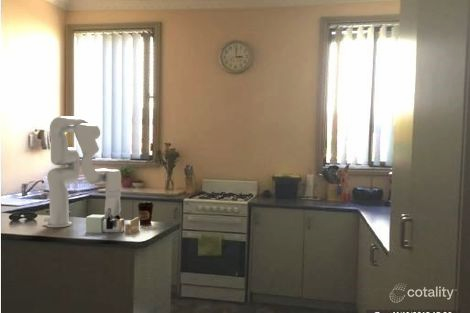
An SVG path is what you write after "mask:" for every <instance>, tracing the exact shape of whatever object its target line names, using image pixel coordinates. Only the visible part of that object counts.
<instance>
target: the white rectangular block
mask: <svg viewBox="0 0 470 313" xmlns="http://www.w3.org/2000/svg"><path fill="white" fill-rule="evenodd" d="M112 221H113V229H106V219H105V218H103V219H102V233H122V232H125V218H120V219H114V218H113V219H112Z"/></svg>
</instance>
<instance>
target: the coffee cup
mask: <svg viewBox="0 0 470 313" xmlns="http://www.w3.org/2000/svg"><path fill="white" fill-rule="evenodd" d="M137 208H138V217H139V226H142V227H146V226H152V218H153V214H154V213H153V212H154V211H153V209H154V203H153V201H151V200H148V201H147V200H144V201H139V202H138V204H137Z"/></svg>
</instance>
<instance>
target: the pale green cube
mask: <svg viewBox="0 0 470 313" xmlns="http://www.w3.org/2000/svg"><path fill="white" fill-rule="evenodd" d="M103 218H105V219H106V216H105V214H90V215H88V216H86V217H85V232H86V233H93V234H95V233H97V234H99V233H101V234H102V233H103V232H102V219H103Z"/></svg>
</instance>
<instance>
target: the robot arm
mask: <svg viewBox="0 0 470 313" xmlns="http://www.w3.org/2000/svg"><path fill="white" fill-rule="evenodd" d="M66 133H74V136H75V138H76V140H77V142H78V145H79V148H80V150H81V153H82V158H81V162H80V154H79V152H78V150H77V149H76V148H74V147H68V146H69V145H68V143H69V140H68V137H67V135H66ZM49 134H50V161H51V163H52V164H53V165H54V166H61V167H55V168H52V169H50V170H49V171H48V172H47V176H46V177H47V178H46V180H47V183H48V190H49V216H48V217H44V218H43V222H45V223H46V222H47V223H46V226H47V227H48V228H65V227H70V226H72V224H73V223H72V221H70V219H69V218H70V216H69V213H70V212H69V211H70V210H69V209H70V207H69V205H70V204H69V203H70V202H69V190H68V188H67V186H66V185H70V184H71V185H72V184H75V183H76V182H78V180H79V177H80V167H81V171H82V175H83V176H84V178H85V180H86V181H87V183H89V184H90V185H99V184H105V201H104V215H105V216H106V229H113V221H112V219H121V216H122V215H121V213H122V212H121V211H122V207H121V205H122V204H121V196H122V193H121V192H122V191H121V190H122V179H121V177H122V176H121V175H122V173H121V171H120V170H119V169H108V168H96V169H95V166H94V164H93V158H94V155H96V154H97V153H98V152H99V150H100V147H99V145H98V143H97V139H99V138H100V136H101V129H100V127H99V126H98V125H97V124H95V123H93V122H91V121H89V120H87V119H85V118H82V117H78V116H77V117H76V116H67V115H66V116H65V115H64V116H61V115H60V116H57V117H55V118H53V119H52V120H51V122H50V125H49ZM62 166H63V167H62Z"/></svg>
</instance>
